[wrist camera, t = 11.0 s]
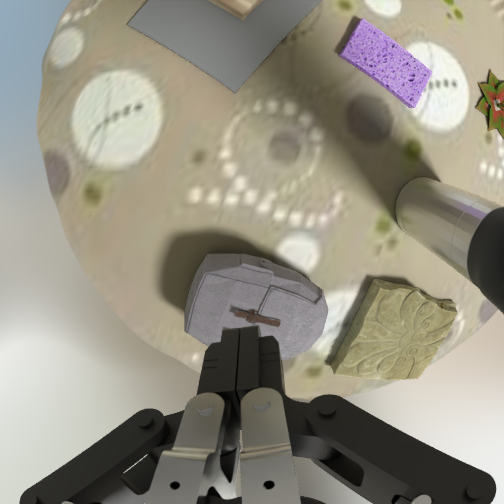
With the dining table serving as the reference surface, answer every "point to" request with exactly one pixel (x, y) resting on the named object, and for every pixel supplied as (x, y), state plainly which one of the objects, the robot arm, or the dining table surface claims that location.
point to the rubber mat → (220, 33)
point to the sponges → (386, 62)
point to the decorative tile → (394, 333)
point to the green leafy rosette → (491, 94)
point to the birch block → (237, 6)
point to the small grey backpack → (254, 302)
